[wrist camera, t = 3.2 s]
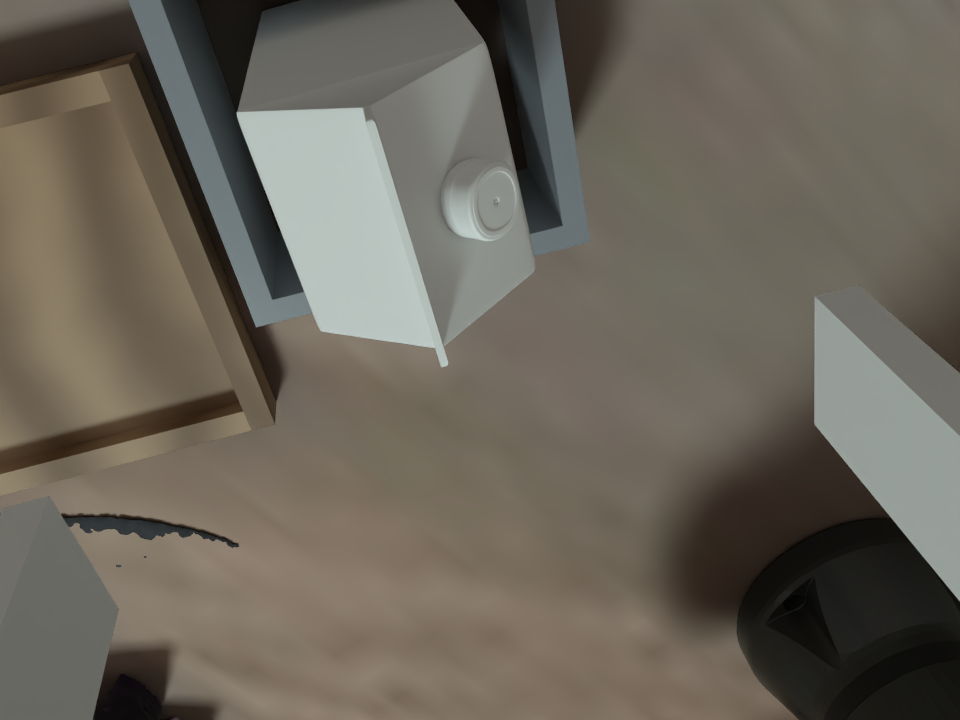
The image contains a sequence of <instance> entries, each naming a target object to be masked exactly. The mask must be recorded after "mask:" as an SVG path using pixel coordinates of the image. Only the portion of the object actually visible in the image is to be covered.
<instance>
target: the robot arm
mask: <svg viewBox="0 0 960 720" xmlns="http://www.w3.org/2000/svg"><path fill="white" fill-rule="evenodd" d="M814 424H815V426H816V427H817V428H818V429H819V430H820V432H821V433H822V434H823V435H824V437H825V438H826V439H827V440H828V441H829V443H830V444H831V445H832V446H833V448H834V449H835V450H836V451H837V452H838V454H839V455H840V456H841V457H842V459H843V460H844V461H845V462H846V463H847V465H848V466H849V467H850V468H851V469H852V471H853V472H854V473H855V474H856V476H857V477H858V478H859V479H860V480H861V482H862V483H863V484H864V485H865V487H866V488H867V489H868V490H869V491H870V493H871V494H872V495H873V496H874V497H875V499H876V500H877V501H878V502H879V504H880V505H881V506H882V507H883V508H884V510H885V511H886V512H887V513H888V515H889V516H890V517H891V518H892V519H870V520H862V521H856V522H852V523H847V524H843V525H840V526H837V527H834V528H831V529H828V530H826V531H823V532H821V533H819V534H817V535H814V536H812V537H810V538H808V539H807V540H805V541H803V542H801V543H799V544H798V545H796V546H795V547H793V548H792V549H790V550H789V551H787V552H786V553H785V554H783V555H782V556H781V557H779V558H778V559H777V560H776V561H775V562H774V563H772V564H771V565H770V566H769V567H768V568H767V569H766V570H765V571H764V572H763V573H762V575H761V576H760V577H759V578H758V579H757V581H756V582H755V583H754V584H753V586H752V587H751V589H750V590H749V592H748V594H747V596H746V597H745V599H744V601H743V604H742V606H741V609H740V612H739V616H738V621H737V637H738V642H739V645H740V648H741V650H742V652H743V654H744V656H745V657H746V659H747V661H748V663H749V665H750V667H751V669H752V671H753V673H754V674H755V676H756V677H757V679H758V680H759V681H760V683H761V684H762V685H763V686H764V687H765V688H766V689H767V690H768V691H769V692H770V693H771V694H772V695H773V696H774V697H775V698H777V699H778V700H779V701H780V702H781V703H782V704H783V705H784V706H785V707H786V708H787V709H788V710H789V711H790V712H791V713H792V714H794V715H795V716H796V717H797V718H798V719H799V720H960V373H959V372H958V371H957V370H956V369H954V368H953V367H952V366H951V365H950V364H949V363H948V362H946V361H945V360H944V359H943V358H942V357H941V356H939V355H938V354H937V353H936V352H935V351H934V350H933V349H931V348H930V347H929V346H928V345H927V344H926V343H925V342H923V341H922V340H921V339H920V338H919V337H918V336H916V335H915V334H914V333H913V332H912V331H911V330H910V329H908V328H907V327H906V326H905V325H904V324H903V323H901V322H900V321H899V320H898V319H897V318H896V317H895V316H893V315H892V314H891V313H890V312H889V311H888V310H887V309H885V308H884V307H883V306H882V305H881V304H880V303H878V302H877V301H876V300H875V299H874V298H873V297H872V296H870V295H869V294H868V293H867V292H866V291H865V290H863V289H862V288H861V287H860V286H859V285H856V286H852V287H849V288H845V289H841V290H837V291H833V292H829V293H826V294H822V295H818V296H815V385H814ZM118 610H119V608H118V607H117V605H116V604H115V602H114V600H113V599H112V597H111V595H110V594H109V592H108V591H107V589H106V587H105V586H104V584H103V582H102V581H101V579H100V577H99V576H98V574H97V573H96V571H95V569H94V568H93V566H92V564H91V563H90V561H89V560H88V558H87V556H86V555H85V553H84V551H83V550H82V548H81V546H80V545H79V543H78V542H77V540H76V538H75V537H74V535H73V533H72V532H71V530H70V529H69V527H68V525H67V524H66V522H65V520H64V519H63V517H62V516H61V514H60V512H59V511H58V509H57V507H56V506H55V504H54V502H53V501H52V499H51V498H50V496H48V497H44V498H40V499H36V500H32V501H28V502H25V503H21V504H17V505H13V506H9V507H5V508H3V511H2V513H1V515H0V720H93V716H94V712H95V707H96V703H97V699H98V695H99V690H100V686H101V682H102V678H103V673H104V669H105V665H106V661H107V656H108V652H109V648H110V644H111V639H112V635H113V631H114V627H115V623H116V618H117V614H118Z"/></svg>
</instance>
